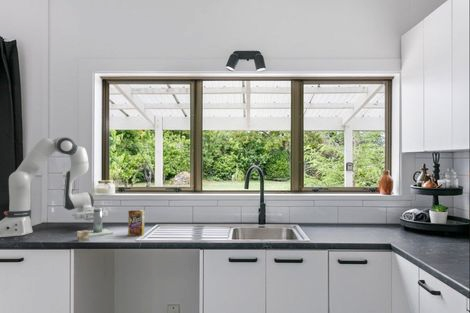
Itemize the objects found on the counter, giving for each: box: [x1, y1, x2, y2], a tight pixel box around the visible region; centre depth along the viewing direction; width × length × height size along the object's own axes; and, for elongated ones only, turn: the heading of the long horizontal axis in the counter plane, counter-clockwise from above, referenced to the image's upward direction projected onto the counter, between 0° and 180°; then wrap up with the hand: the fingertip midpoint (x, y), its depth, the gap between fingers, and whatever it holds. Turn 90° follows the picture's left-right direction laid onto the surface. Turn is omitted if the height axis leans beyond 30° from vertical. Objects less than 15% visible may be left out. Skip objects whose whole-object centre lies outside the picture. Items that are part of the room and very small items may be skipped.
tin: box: [92, 208, 104, 233], centre depth 205 cm, size 5×5×14 cm
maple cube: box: [76, 229, 90, 242], centre depth 188 cm, size 5×5×5 cm
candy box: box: [127, 209, 146, 237], centre depth 201 cm, size 9×4×15 cm, turn 84°
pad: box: [88, 228, 114, 238], centre depth 205 cm, size 14×14×1 cm
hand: (94, 215), depth 211 cm, fingers open, 8 cm apart
